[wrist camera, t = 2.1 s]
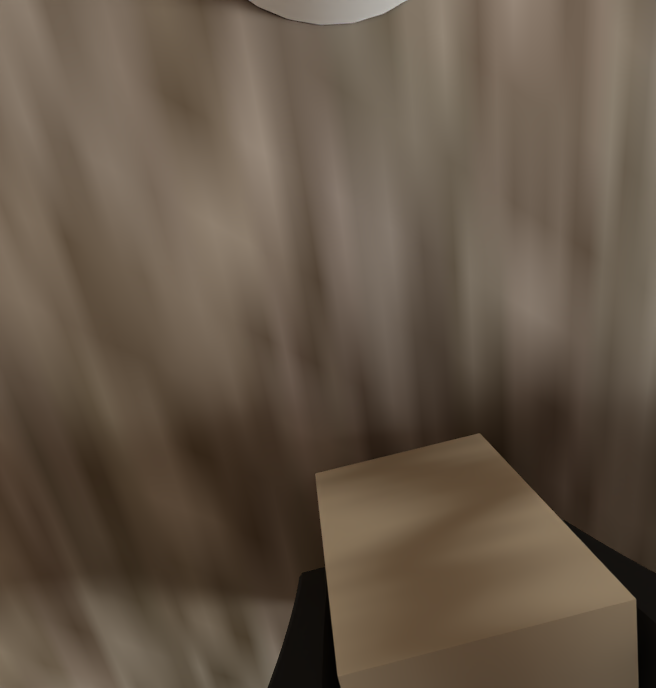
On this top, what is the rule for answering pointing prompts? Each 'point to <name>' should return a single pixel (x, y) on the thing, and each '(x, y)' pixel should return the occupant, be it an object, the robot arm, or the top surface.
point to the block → (465, 579)
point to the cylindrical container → (327, 9)
